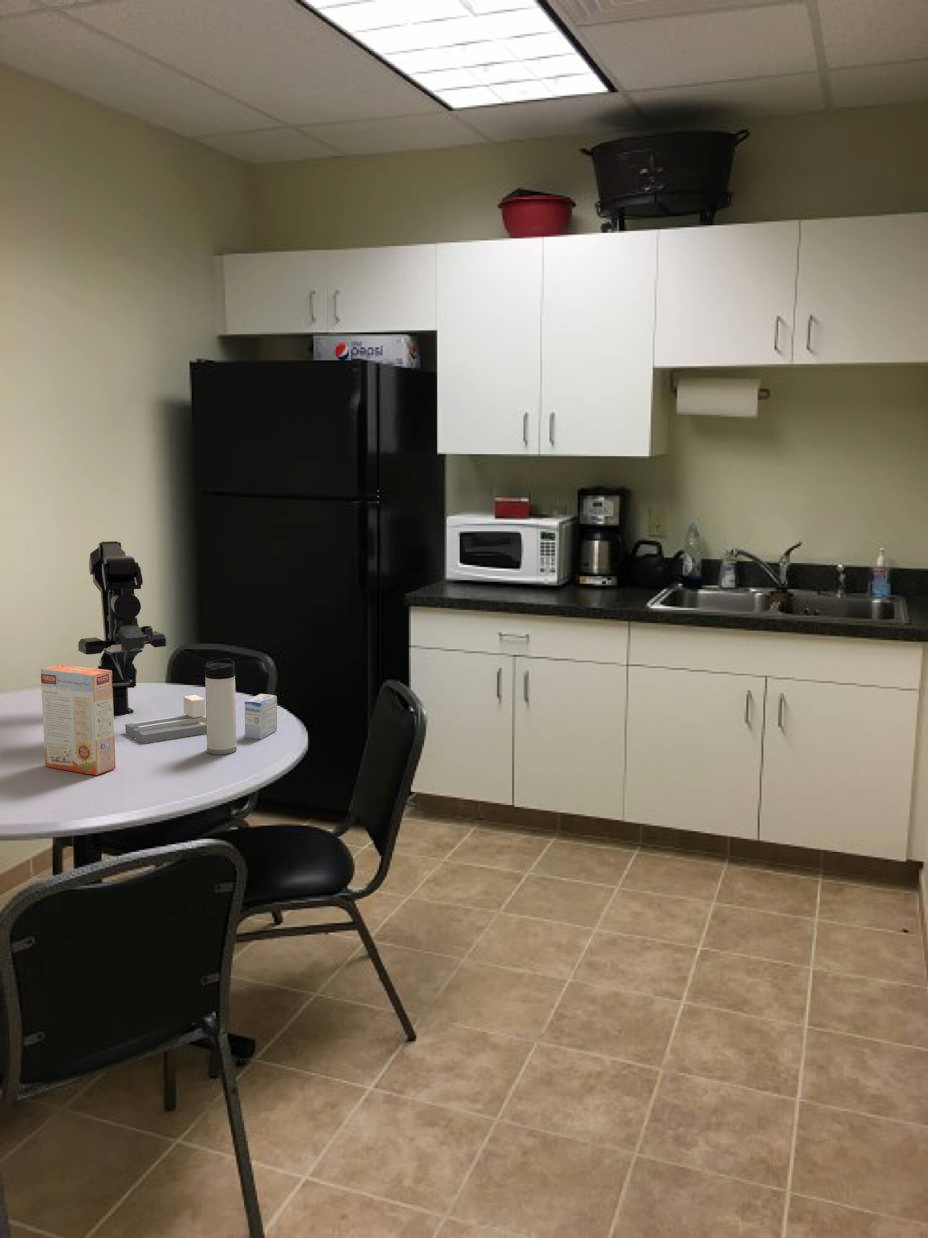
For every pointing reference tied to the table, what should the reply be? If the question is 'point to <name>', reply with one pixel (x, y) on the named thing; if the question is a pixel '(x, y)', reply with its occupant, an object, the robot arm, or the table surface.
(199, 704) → the fader
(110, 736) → the cracker box
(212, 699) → the travel mug
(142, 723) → the console
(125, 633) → the robot arm
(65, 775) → the table surface
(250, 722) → the medicine box
